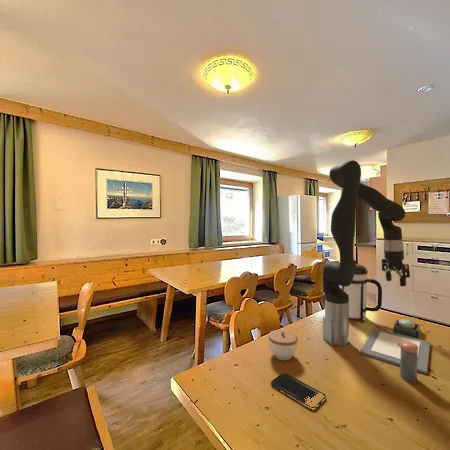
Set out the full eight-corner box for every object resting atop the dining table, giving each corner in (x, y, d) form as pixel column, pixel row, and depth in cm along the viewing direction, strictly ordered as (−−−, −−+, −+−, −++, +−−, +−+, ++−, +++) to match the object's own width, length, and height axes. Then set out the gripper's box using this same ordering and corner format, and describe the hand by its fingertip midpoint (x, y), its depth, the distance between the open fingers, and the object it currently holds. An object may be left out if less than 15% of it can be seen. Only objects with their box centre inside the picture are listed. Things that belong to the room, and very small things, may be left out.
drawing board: (426, 374, 84) (426, 370, 84) (360, 353, 97) (360, 350, 97) (430, 344, 104) (430, 341, 104) (374, 330, 117) (374, 327, 117)
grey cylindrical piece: (409, 383, 80) (409, 349, 79) (396, 374, 84) (396, 342, 84) (421, 381, 80) (421, 347, 80) (407, 372, 85) (408, 340, 85)
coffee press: (349, 326, 122) (350, 264, 119) (331, 312, 138) (331, 257, 135) (382, 322, 124) (384, 262, 122) (360, 309, 140) (361, 255, 138)
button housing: (419, 339, 107) (420, 332, 107) (391, 332, 114) (391, 325, 114) (421, 331, 115) (421, 324, 115) (395, 325, 121) (395, 318, 121)
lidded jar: (297, 350, 100) (297, 326, 99) (297, 366, 89) (297, 339, 89) (269, 347, 103) (269, 324, 102) (267, 361, 92) (267, 336, 92)
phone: (283, 372, 85) (327, 395, 74) (283, 375, 85) (327, 399, 74) (269, 382, 80) (313, 409, 68) (269, 386, 80) (313, 413, 68)
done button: (414, 331, 110) (414, 326, 110) (397, 327, 114) (397, 322, 114) (415, 326, 115) (415, 321, 115) (399, 322, 119) (399, 318, 118)
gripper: (375, 247, 123) (377, 280, 125) (397, 252, 109) (400, 289, 110) (389, 245, 124) (392, 278, 125) (413, 250, 110) (416, 286, 111)
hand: (395, 283), depth 118 cm, fingers open, 8 cm apart
